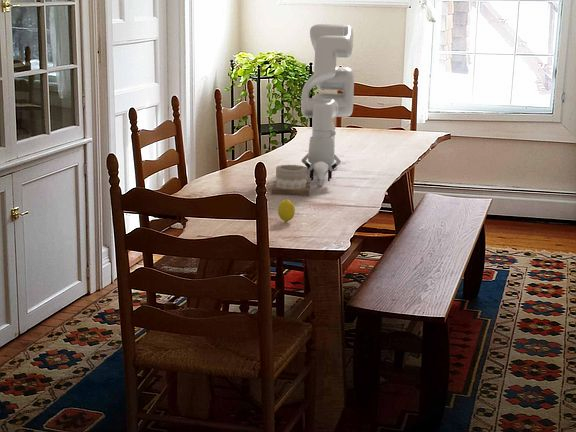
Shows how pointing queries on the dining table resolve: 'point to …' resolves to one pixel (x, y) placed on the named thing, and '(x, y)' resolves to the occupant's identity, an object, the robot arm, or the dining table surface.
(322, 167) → the lightbulb
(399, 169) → the dining table surface
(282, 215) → the lemon
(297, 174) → the socket
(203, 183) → the dining table surface
